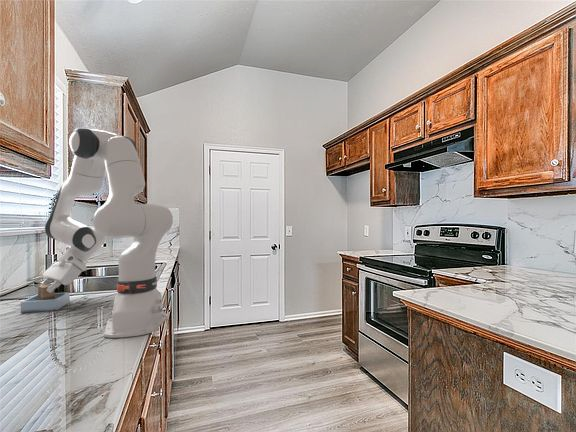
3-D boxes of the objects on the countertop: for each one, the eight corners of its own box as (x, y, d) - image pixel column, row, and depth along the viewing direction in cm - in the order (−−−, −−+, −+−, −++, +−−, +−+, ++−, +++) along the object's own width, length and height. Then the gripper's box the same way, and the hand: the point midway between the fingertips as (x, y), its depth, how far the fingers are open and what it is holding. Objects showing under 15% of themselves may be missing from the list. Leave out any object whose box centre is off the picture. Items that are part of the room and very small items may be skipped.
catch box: (57, 310, 123) (56, 299, 123) (20, 313, 120) (20, 302, 120) (69, 302, 134) (69, 292, 134) (36, 304, 131) (36, 294, 131)
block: (54, 304, 127) (54, 285, 127) (42, 307, 124) (42, 287, 124) (50, 303, 130) (50, 284, 130) (38, 305, 127) (37, 286, 127)
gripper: (55, 255, 139) (27, 282, 131) (76, 258, 126) (46, 289, 119) (67, 264, 142) (41, 291, 135) (89, 268, 130) (61, 298, 122)
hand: (44, 290), depth 127 cm, fingers open, 6 cm apart
